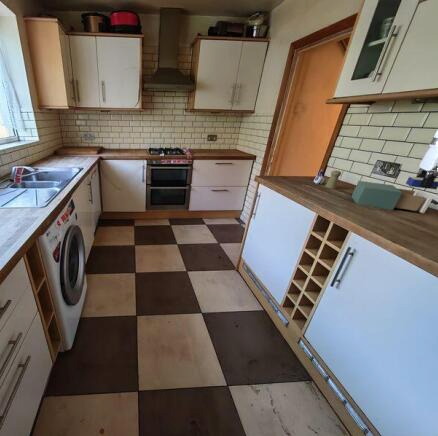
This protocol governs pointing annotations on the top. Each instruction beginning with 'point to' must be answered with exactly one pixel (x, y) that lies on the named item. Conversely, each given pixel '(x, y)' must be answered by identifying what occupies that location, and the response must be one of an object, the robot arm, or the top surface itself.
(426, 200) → the drawer
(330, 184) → the beige upright figurine
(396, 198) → the green faceted block
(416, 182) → the notebook
